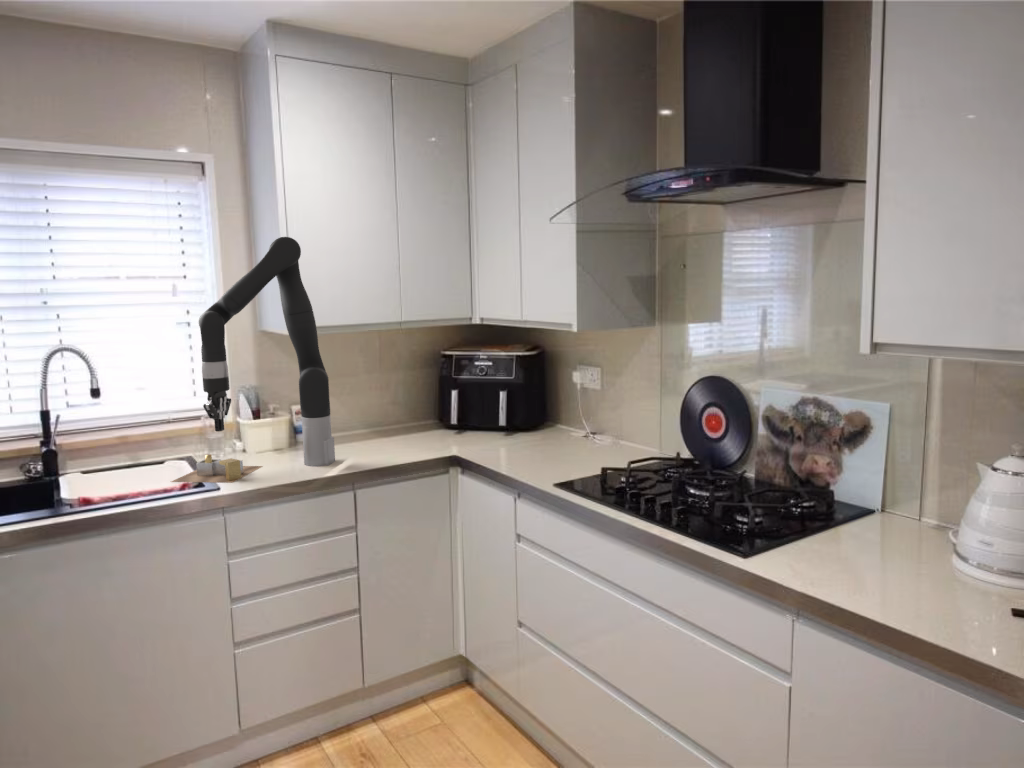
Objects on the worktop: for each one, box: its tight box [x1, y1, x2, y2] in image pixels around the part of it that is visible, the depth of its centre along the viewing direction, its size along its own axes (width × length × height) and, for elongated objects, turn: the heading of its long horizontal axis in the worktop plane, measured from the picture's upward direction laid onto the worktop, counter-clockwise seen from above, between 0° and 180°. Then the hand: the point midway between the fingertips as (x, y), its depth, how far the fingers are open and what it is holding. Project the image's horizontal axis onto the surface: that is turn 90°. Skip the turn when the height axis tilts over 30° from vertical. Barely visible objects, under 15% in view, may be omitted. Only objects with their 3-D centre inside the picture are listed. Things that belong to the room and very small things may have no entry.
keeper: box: [219, 458, 242, 481], centre depth 222 cm, size 5×4×6 cm
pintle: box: [204, 453, 213, 463], centre depth 228 cm, size 2×2×6 cm
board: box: [170, 465, 264, 484], centre depth 228 cm, size 20×20×1 cm
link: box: [195, 458, 244, 476], centre depth 228 cm, size 13×5×4 cm, turn 83°
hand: (219, 430), depth 226 cm, fingers closed
